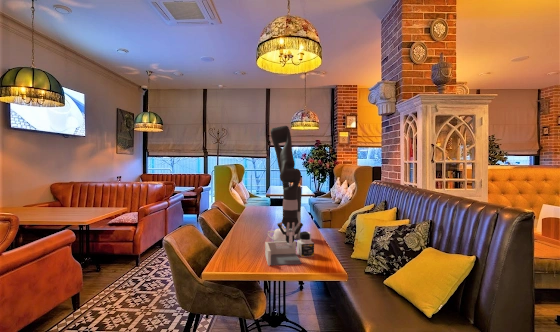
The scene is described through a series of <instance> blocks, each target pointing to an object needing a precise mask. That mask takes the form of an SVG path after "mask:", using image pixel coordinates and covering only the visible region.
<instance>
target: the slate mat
mask: <svg viewBox="0 0 560 332" xmlns="http://www.w3.org/2000/svg"><path fill="white" fill-rule="evenodd" d="M298 256H299V255H297V253H296V254H273V255H271V266H287V265H288V266H290V265H291V266H292V265H302V261H301V260H300V258H299V257H298Z"/></svg>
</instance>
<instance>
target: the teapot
mask: <svg viewBox="0 0 560 332" xmlns="http://www.w3.org/2000/svg"><path fill="white" fill-rule="evenodd" d="M282 229H283V230H284V232H286V227H285V226H284V225H282ZM289 230H290V229H289ZM270 233H272V234H273V235H272V236H271V235H270ZM266 235H267V237H269V239H271V240H273V242H281V241H286V235H283V233H282V232H281V230H280V228H279V227H277V228H276V229H275V230H268V231H267V233H266ZM296 236H297V234H295V235H294V238H295V237H296Z"/></svg>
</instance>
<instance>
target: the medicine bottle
mask: <svg viewBox="0 0 560 332" xmlns="http://www.w3.org/2000/svg"><path fill="white" fill-rule="evenodd" d="M296 240H297V241H296V254H298V256H300V257H301V258H304V257H305V258H307V257H309V258H310V257H315V242H314V241H312V233H311V232H310V231H301V233H300V238H299V239H296Z"/></svg>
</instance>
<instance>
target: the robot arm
mask: <svg viewBox="0 0 560 332" xmlns="http://www.w3.org/2000/svg"><path fill="white" fill-rule="evenodd" d="M291 134H292V133H291V130H290V128H289V126H288V125H282V126H276V127H273V128H271V130H270V136H271V141H272V145H273V148H274V151H275V155H276V161H277V165H278V169H279V180H280V181H281V184H282V189H283V190H282V191H283V193H282V195H283V197H282V198H283V199H282V218H281V219H282V220H281V222H278V223H277V228H280V230H281V232H282V233H283V235H286V242H287V243H289V229H290V230H291V231H292V243H293V242H294V241H295V240H300V233H301V232H302V227H303V226H304V224H303V223H302V219H301V218H302V212H301V210H302V187H301V186H299V185H300V181H301V178H302V173H301V171H300V169H299V168H295V167H296V163H295V158H294V154H293V144H292V143H293V142H292V135H291ZM283 143H285V144H284V145H283V147H281V146H280V144H283ZM290 183H292V185H291V184H290ZM282 226H285V227H284V228H286V232H284V230H283V229H282ZM295 234H297V236H296V237H295V238H294V235H295Z"/></svg>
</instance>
